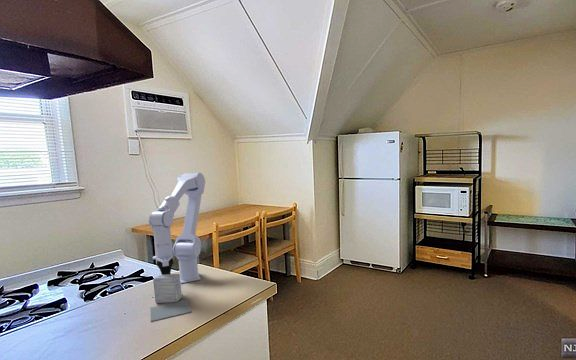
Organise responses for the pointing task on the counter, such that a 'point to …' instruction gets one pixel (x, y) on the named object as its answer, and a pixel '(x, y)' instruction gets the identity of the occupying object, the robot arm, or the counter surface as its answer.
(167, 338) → the counter surface
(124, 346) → the counter surface
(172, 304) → the slate mat
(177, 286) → the medicine box
